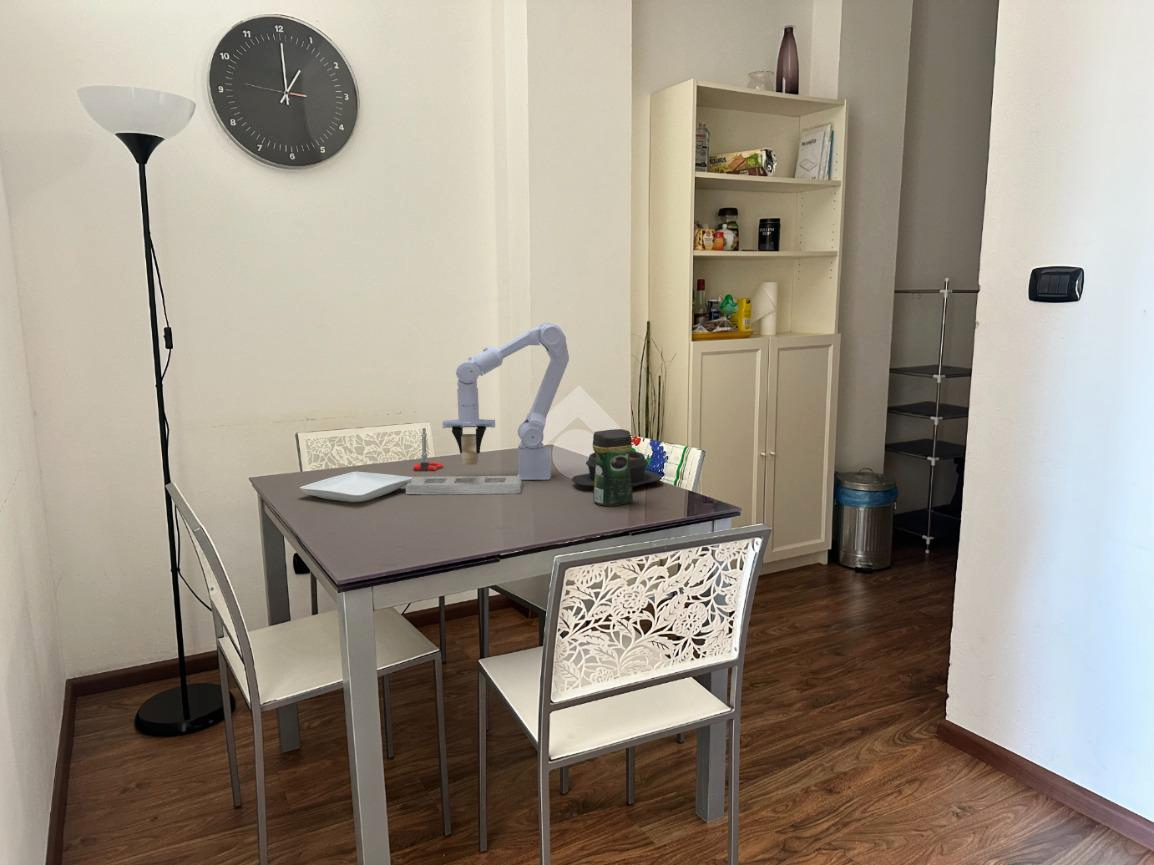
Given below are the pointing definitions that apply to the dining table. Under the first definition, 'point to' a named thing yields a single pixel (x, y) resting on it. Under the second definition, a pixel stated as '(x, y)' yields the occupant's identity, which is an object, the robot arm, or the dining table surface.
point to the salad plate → (356, 486)
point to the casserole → (636, 471)
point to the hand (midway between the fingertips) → (470, 452)
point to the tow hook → (424, 464)
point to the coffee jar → (612, 467)
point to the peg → (469, 449)
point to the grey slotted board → (465, 485)
